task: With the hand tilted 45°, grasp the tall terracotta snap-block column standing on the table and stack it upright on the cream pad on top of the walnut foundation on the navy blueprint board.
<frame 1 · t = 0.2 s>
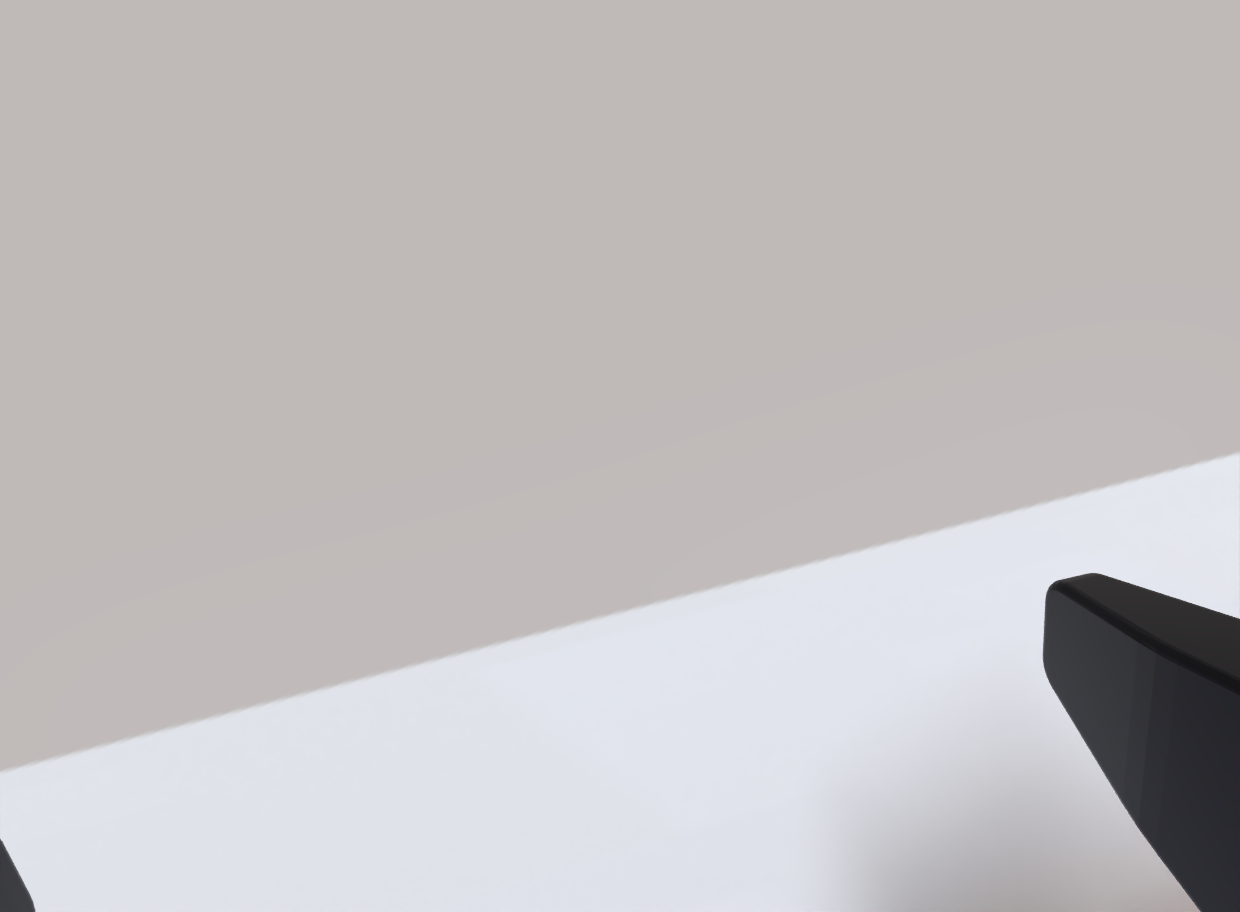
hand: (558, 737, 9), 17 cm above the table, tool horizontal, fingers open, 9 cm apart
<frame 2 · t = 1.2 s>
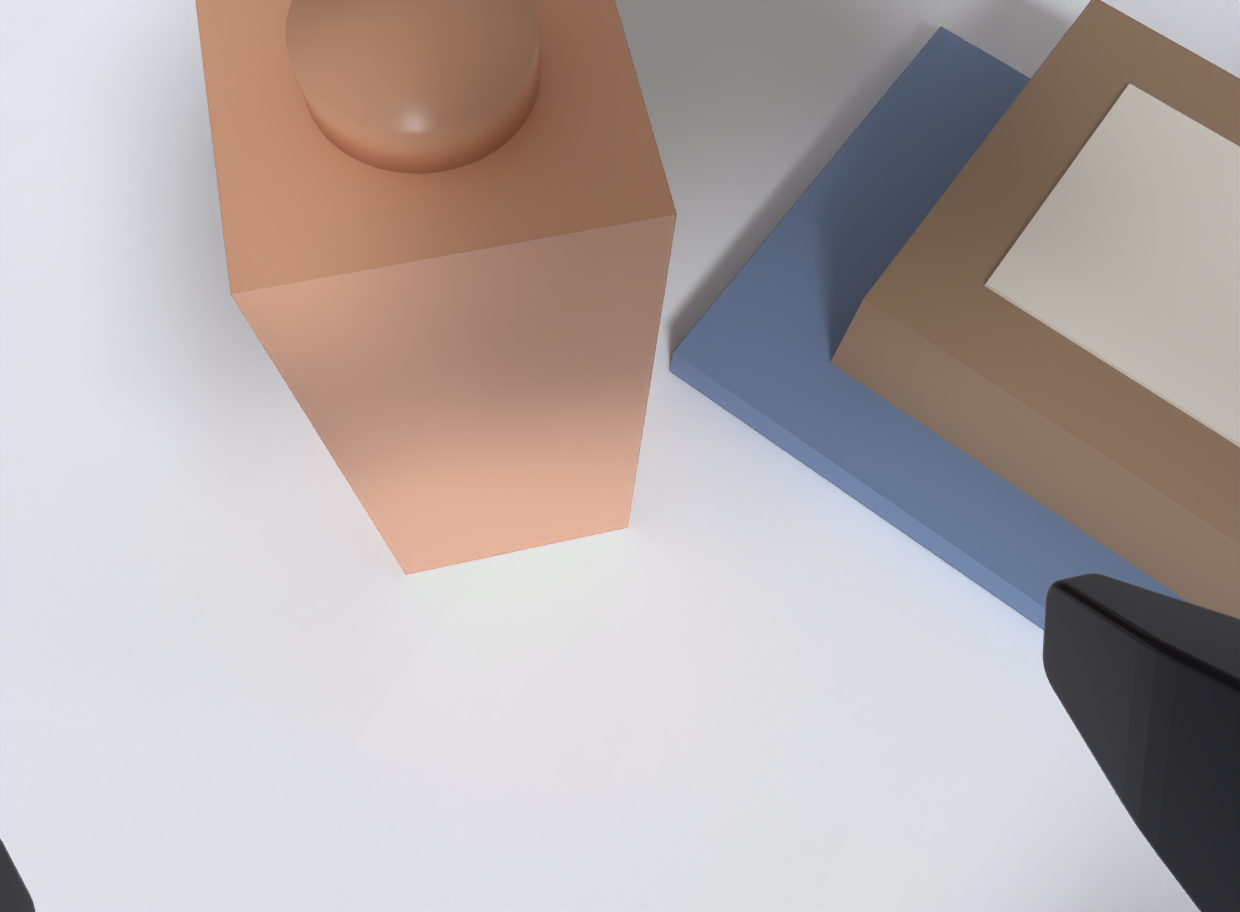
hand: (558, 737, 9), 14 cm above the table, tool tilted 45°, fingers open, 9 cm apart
column: (496, 447, 24), on the table
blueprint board: (1158, 425, 25), on the table
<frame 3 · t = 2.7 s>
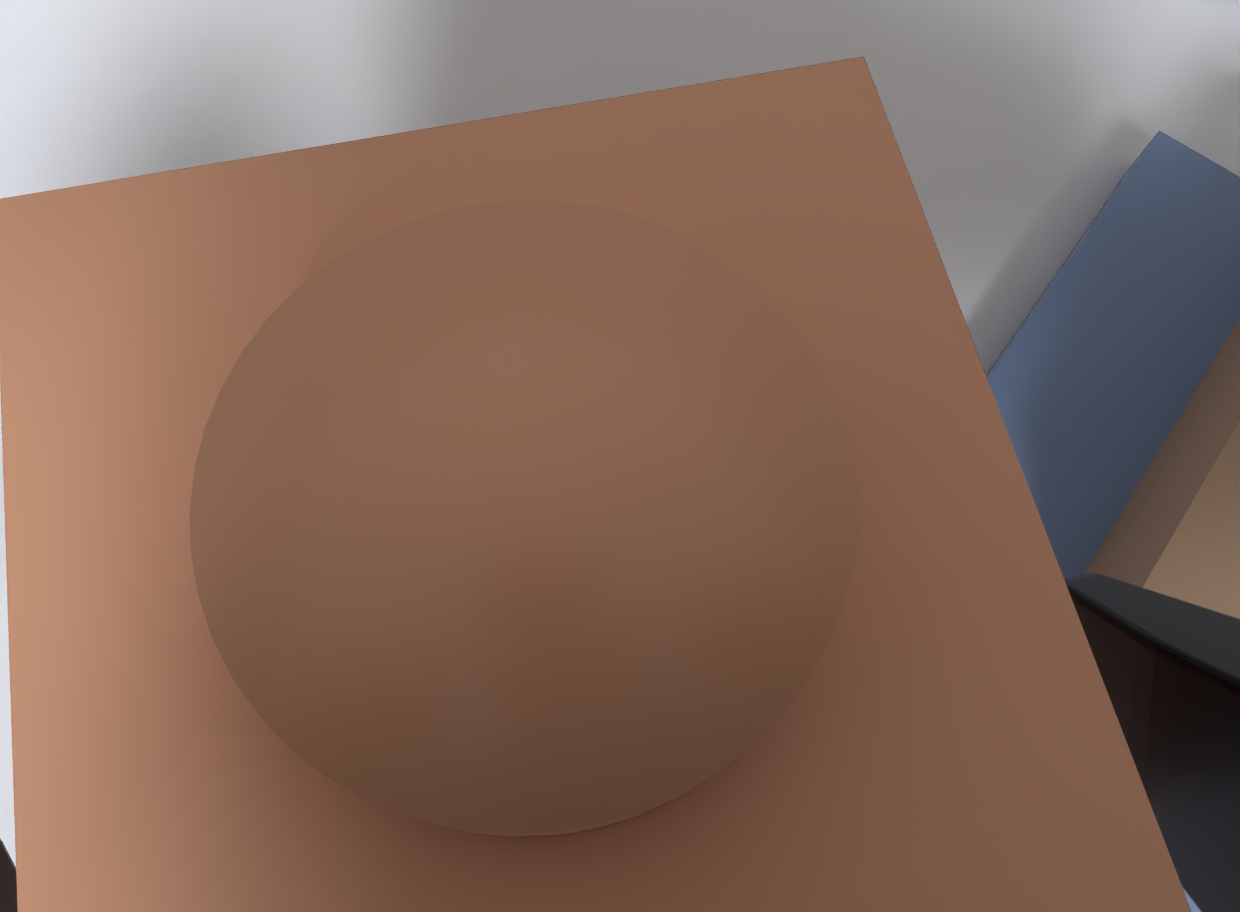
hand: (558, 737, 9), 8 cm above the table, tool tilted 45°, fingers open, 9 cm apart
column: (565, 756, 17), on the table
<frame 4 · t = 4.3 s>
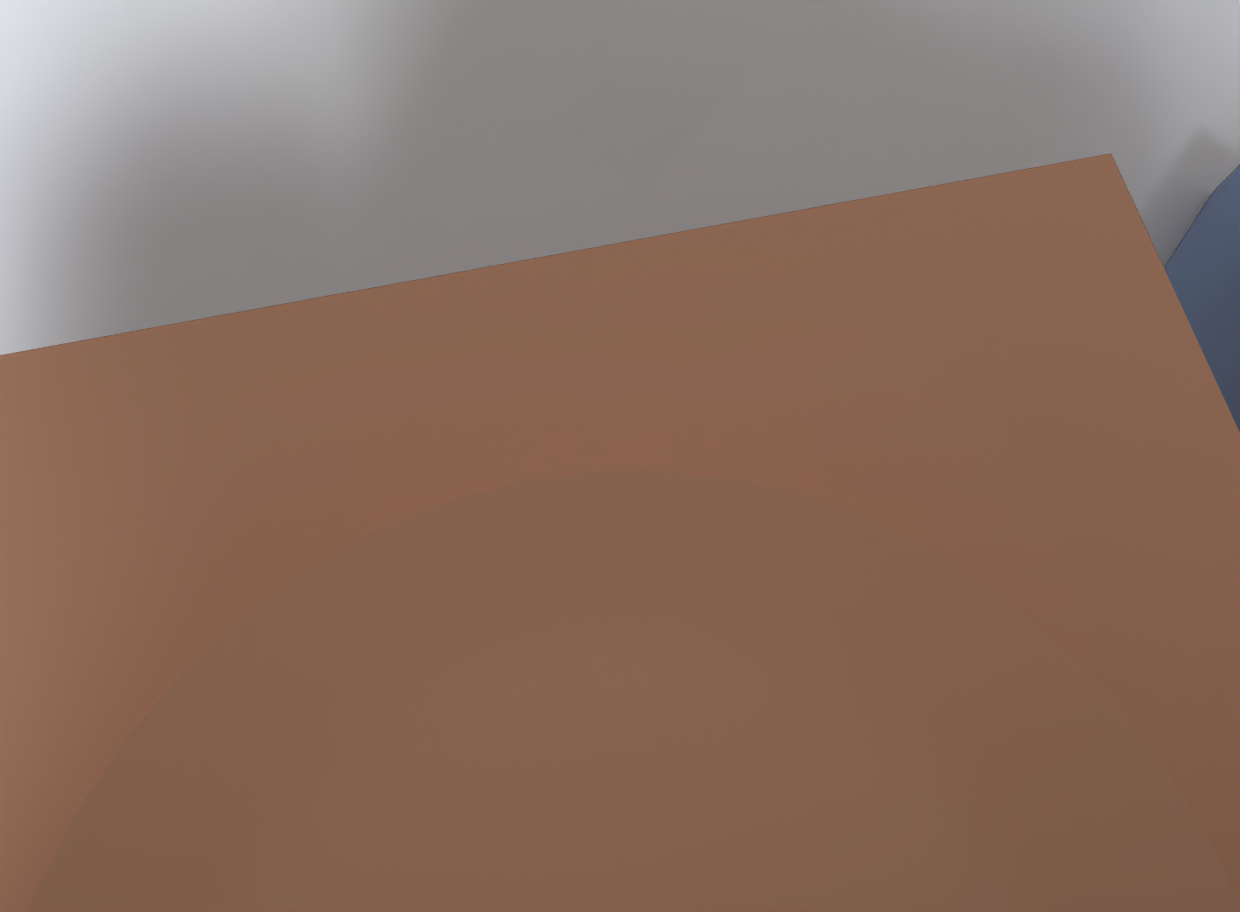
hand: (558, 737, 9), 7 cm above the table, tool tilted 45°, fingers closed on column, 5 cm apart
column: (586, 884, 15), on the table, touching gripper
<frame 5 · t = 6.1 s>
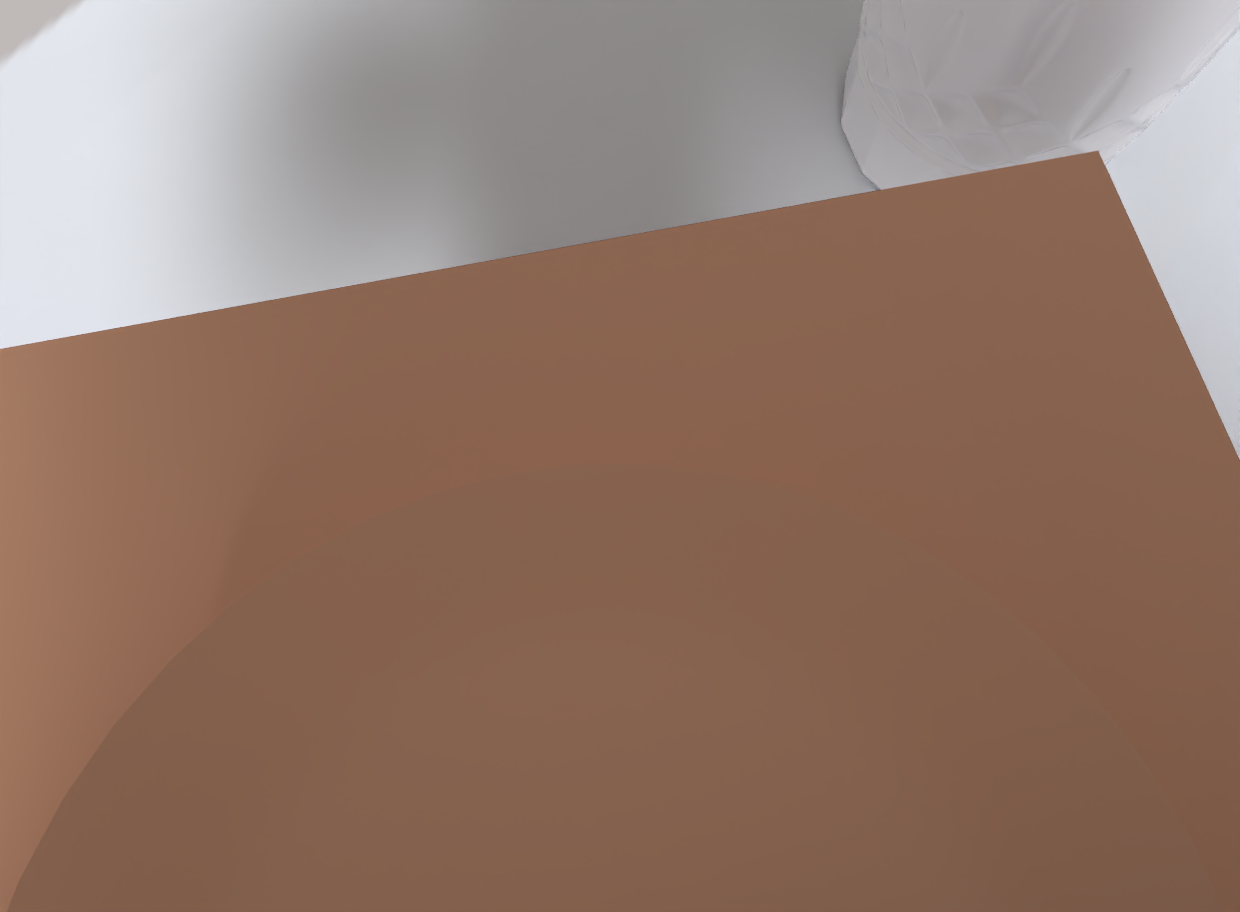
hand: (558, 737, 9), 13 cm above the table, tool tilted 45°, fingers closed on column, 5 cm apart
white cup: (964, 129, 28), on the table
column: (583, 883, 15), point 7 cm above the table, touching gripper
when the fingers open (12 cm above the table, at t = 7.8 s): column stays where it is, resting on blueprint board.
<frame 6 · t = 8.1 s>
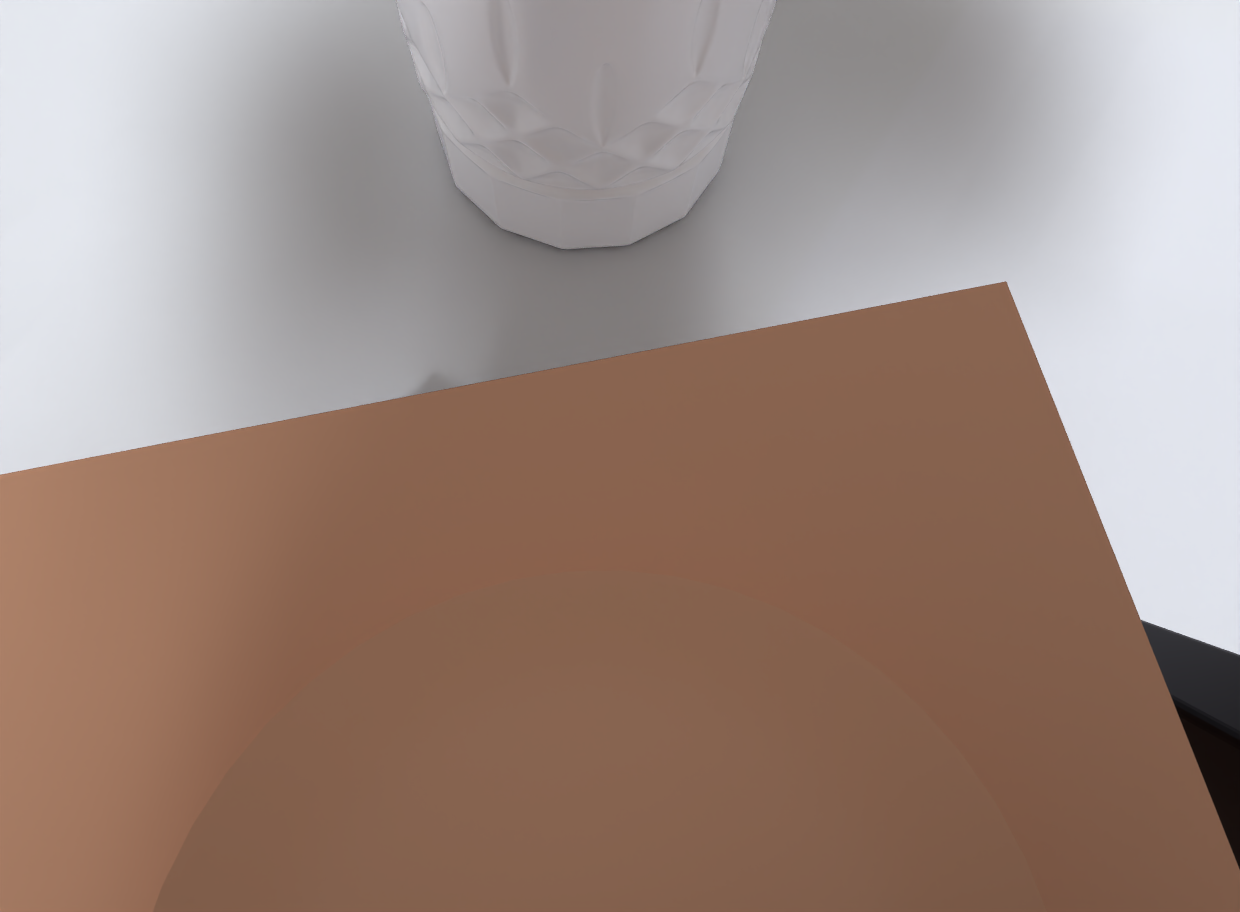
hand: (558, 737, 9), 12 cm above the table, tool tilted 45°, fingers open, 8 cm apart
white cup: (582, 135, 25), on the table
column: (583, 882, 16), point 4 cm above the table, touching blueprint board
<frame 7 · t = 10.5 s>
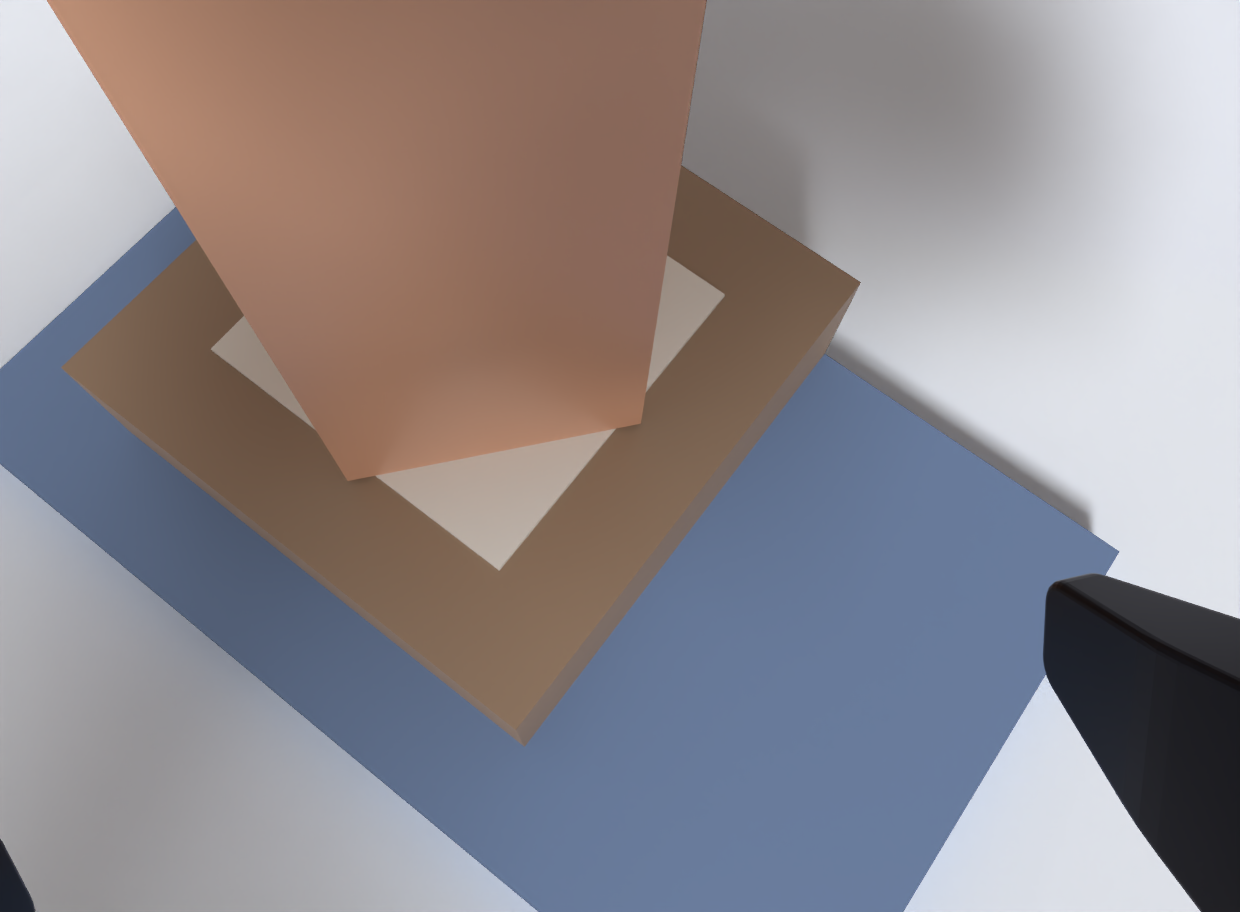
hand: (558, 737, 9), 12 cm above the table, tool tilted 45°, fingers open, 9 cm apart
column: (470, 321, 19), point 4 cm above the table, touching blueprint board
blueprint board: (534, 500, 22), on the table
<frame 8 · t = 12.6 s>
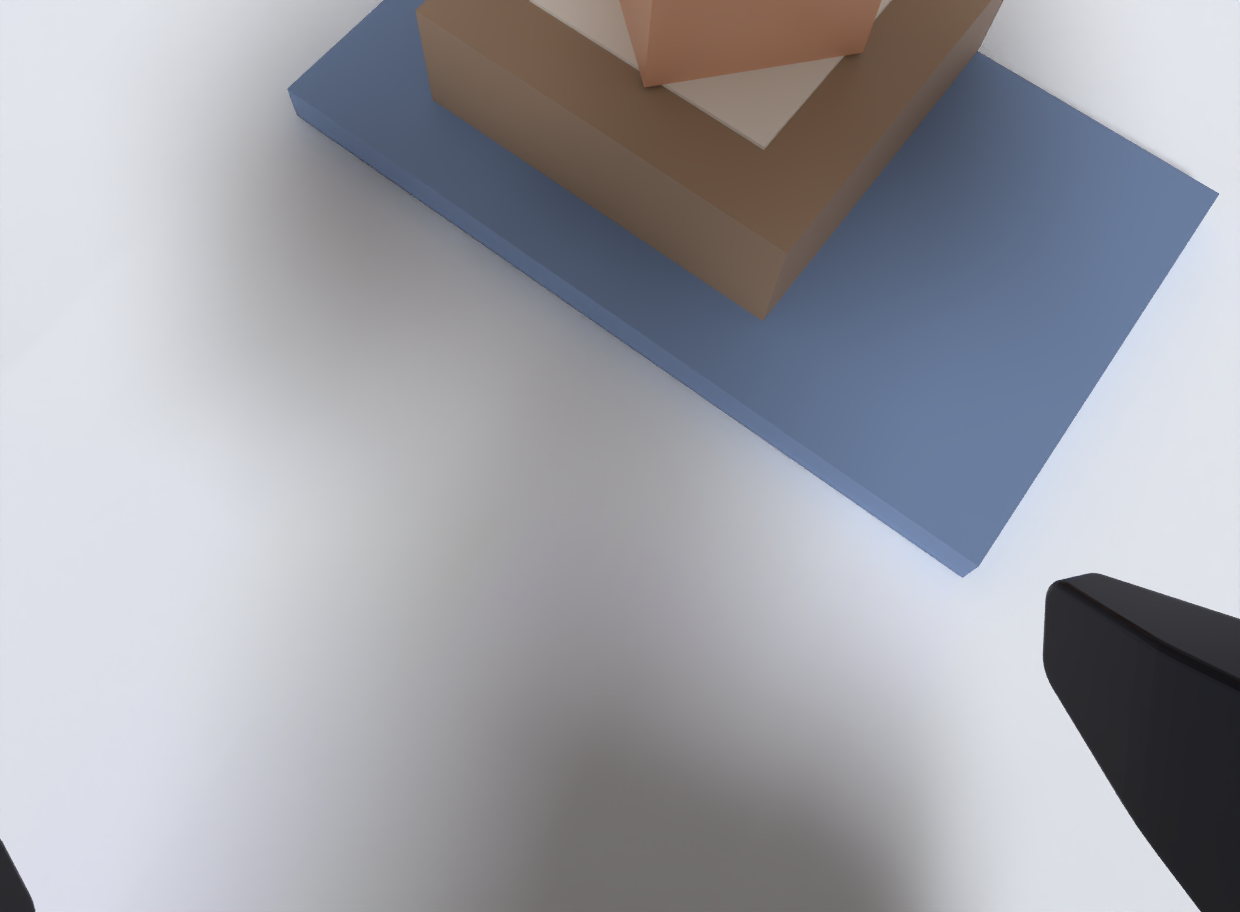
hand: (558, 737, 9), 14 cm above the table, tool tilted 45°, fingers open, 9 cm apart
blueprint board: (747, 165, 27), on the table
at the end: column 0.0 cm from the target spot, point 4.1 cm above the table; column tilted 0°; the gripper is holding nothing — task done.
